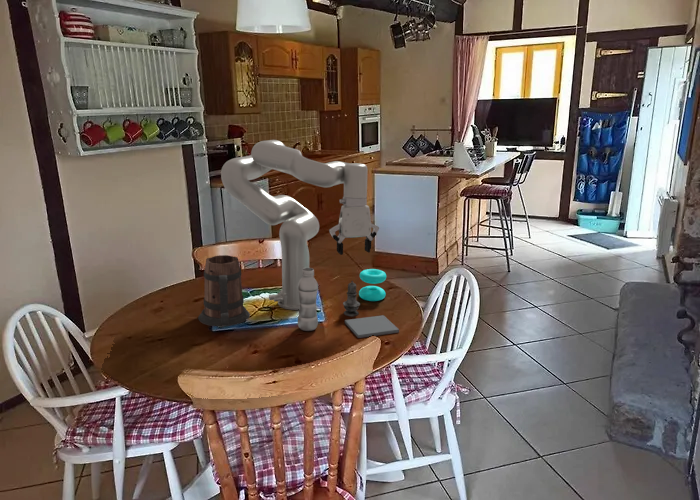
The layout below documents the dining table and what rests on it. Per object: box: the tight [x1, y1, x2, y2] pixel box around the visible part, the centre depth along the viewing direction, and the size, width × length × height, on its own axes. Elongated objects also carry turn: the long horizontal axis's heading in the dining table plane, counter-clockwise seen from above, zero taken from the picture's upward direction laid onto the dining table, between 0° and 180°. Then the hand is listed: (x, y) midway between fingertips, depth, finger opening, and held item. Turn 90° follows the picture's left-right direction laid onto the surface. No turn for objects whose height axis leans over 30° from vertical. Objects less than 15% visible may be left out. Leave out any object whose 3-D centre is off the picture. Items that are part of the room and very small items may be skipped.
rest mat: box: [344, 314, 400, 339], centre depth 168 cm, size 14×12×1 cm
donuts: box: [358, 268, 387, 302], centre depth 193 cm, size 10×10×10 cm
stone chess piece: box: [342, 280, 361, 317], centre depth 178 cm, size 6×6×12 cm
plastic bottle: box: [297, 267, 319, 332], centre depth 163 cm, size 6×7×20 cm
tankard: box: [198, 254, 251, 327], centre depth 168 cm, size 24×17×20 cm
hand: (353, 252), depth 173 cm, fingers open, 9 cm apart
